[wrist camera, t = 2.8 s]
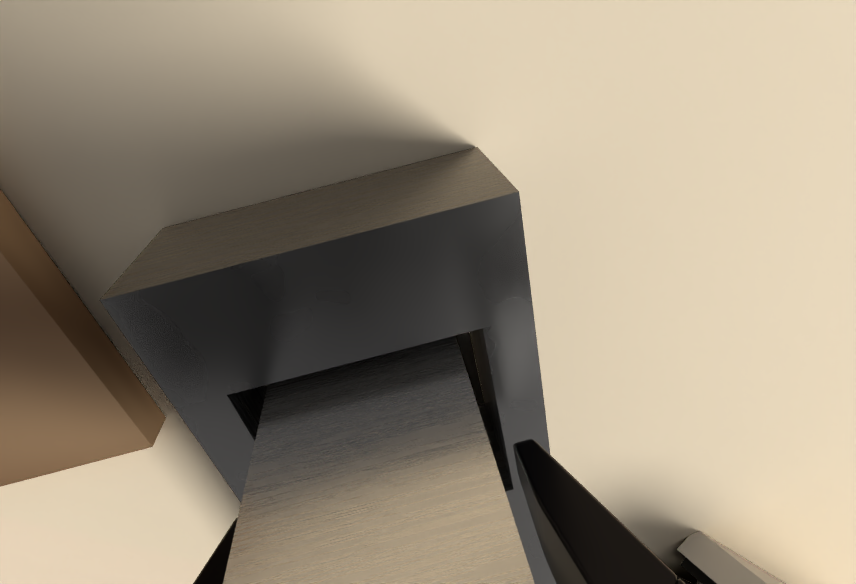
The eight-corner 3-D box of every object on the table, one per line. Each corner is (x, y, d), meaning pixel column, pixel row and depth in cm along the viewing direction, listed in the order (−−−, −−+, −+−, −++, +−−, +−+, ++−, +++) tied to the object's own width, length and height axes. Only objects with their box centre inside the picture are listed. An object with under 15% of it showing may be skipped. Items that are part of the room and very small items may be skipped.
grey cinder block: (549, 599, 21) (577, 682, 18) (393, 641, 21) (399, 730, 18) (476, 147, 10) (519, 191, 8) (162, 227, 10) (100, 300, 8)
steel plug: (465, 394, 14) (573, 762, 7) (333, 429, 14) (314, 830, 7) (437, 280, 12) (553, 643, 5) (282, 320, 12) (187, 740, 5)
